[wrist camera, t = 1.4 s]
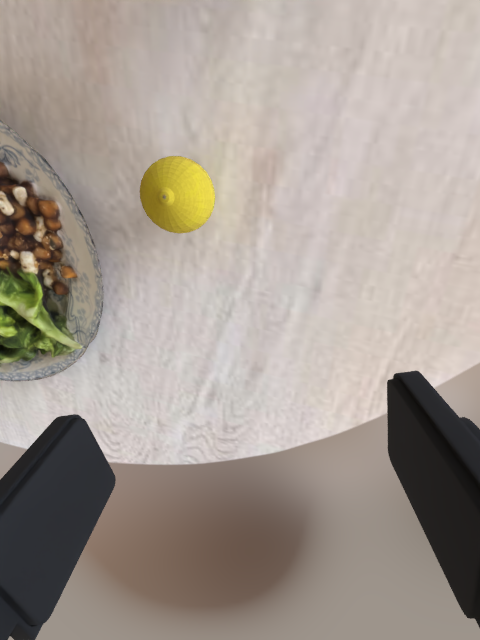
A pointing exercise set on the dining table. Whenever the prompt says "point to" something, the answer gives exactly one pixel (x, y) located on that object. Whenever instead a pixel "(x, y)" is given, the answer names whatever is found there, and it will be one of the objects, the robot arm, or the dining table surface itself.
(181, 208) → the lemon
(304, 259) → the dining table surface
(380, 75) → the dining table surface
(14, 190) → the plate of food
